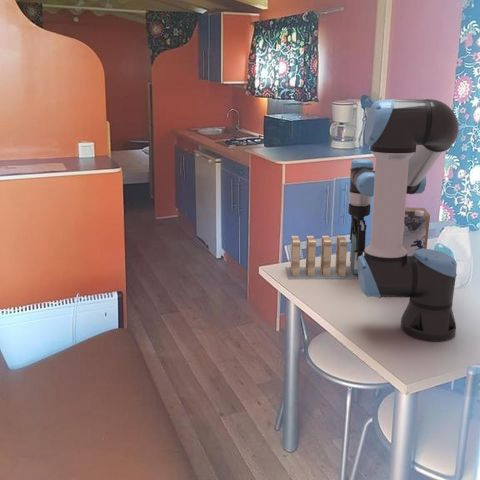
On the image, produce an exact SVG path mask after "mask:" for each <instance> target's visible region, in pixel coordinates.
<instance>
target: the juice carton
mask: <svg viewBox="0 0 480 480" xmlns="http://www.w3.org/2000/svg"><path fill="white" fill-rule="evenodd" d="M425 236H426V219H425V218H424V211H421V210H415V211H405V217H404V230H403V243H402V246H403V247H404V248H405V249H406V250H407V256H413V253H414V251H415V250H417V249H424V246H425Z"/></svg>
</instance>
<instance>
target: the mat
mask: <svg viewBox="0 0 480 480" xmlns="http://www.w3.org/2000/svg"><path fill="white" fill-rule="evenodd" d="M320 267H321V266H315V277H308V275H307V272H306V266H300V268H299V277H292V273H291V266H290V267H289V266H287V267H286V266H285V267H284V268H285V271H286V276H287V280H359V277H358V274H354V273H353V271H352V269H351V267H350V266H346V273H345V276H338V274H337V272H336V270H335V266H330V276H323V275H322V272H321V270H320Z"/></svg>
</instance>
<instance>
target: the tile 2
mask: <svg viewBox="0 0 480 480" xmlns="http://www.w3.org/2000/svg"><path fill="white" fill-rule="evenodd" d="M305 244H306V247H305V249H306V251H305V267H306V272H307V275H308V277H315V267H316V250H317V249H316V248H317V247H316V246H317V241H316V239H315V237H314V235H306V243H305Z"/></svg>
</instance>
